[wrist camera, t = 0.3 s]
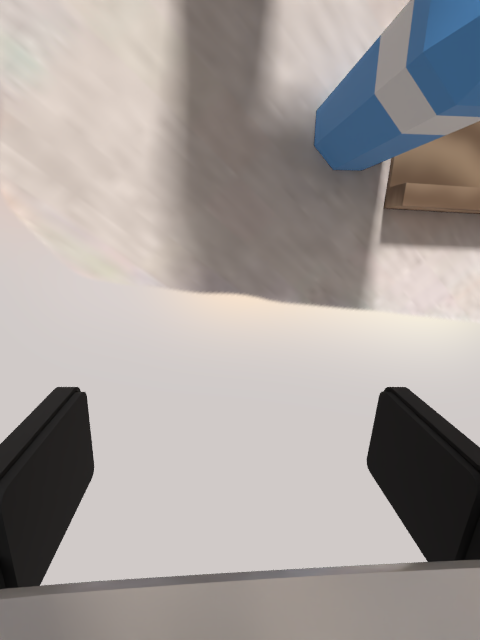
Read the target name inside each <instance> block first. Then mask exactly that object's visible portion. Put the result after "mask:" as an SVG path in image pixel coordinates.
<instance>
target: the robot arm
mask: <svg viewBox="0 0 480 640" xmlns="http://www.w3.org/2000/svg"><path fill="white" fill-rule="evenodd" d="M367 466H368V469H369V471H370V473H371V474H372V476H373V477H374V479H375V481H376V482H377V484H378V485H379V487H380V488H381V490H382V491H383V493H384V495H385V496H386V498H387V499H388V501H389V502H390V504H391V505H392V507H393V508H394V510H395V512H396V513H397V515H398V516H399V518H400V519H401V521H402V522H403V524H404V526H405V527H406V529H407V530H408V532H409V533H410V535H411V536H412V538H413V539H414V541H415V543H416V544H417V546H418V547H419V549H420V550H421V552H422V553H423V555H424V557H425V558H426V560H427V561H428V562H418V563H399V564H379V565H360V566H341V567H323V568H306V569H287V570H271V571H253V572H237V573H220V574H203V575H189V576H188V575H187V576H172V577H156V578H141V579H125V580H110V581H93V582H81V583H69V584H56V585H44V586H40V584H41V582H42V580H43V578H44V576H45V574H46V572H47V570H48V568H49V566H50V563H51V561H52V559H53V557H54V555H55V553H56V551H57V549H58V547H59V545H60V543H61V541H62V539H63V537H64V535H65V532H66V530H67V528H68V526H69V524H70V522H71V520H72V518H73V516H74V514H75V512H76V510H77V508H78V506H79V504H80V502H81V499H82V497H83V495H84V493H85V491H86V489H87V487H88V485H89V483H90V481H91V479H92V476H93V472H94V460H93V451H92V441H91V432H90V422H89V413H88V404H87V396H86V393H85V392H81V391H80V389H79V388H78V387H57V388H55V389H54V390H53V391H52V392H51V393H50V394H49V395H48V396H47V398H46V399H44V401H43V402H42V403H41V404H40V405H39V406H38V407H37V408H36V409H35V410H34V411H33V412H32V413H31V414H30V415H29V416H28V417H27V418H26V419H25V420H24V421H23V422H22V423H21V424H20V425H19V426H18V427H17V428H16V429H15V430H14V431H13V432H12V433H11V434H10V435H9V436H8V437H7V438H6V439H5V440H4V441H3V442H2V443H1V444H0V640H480V447H478V446H477V445H476V444H475V443H474V442H472V441H471V440H470V439H469V438H467V437H466V436H465V435H464V434H462V433H461V432H460V431H459V430H458V429H456V428H455V427H454V426H453V425H452V424H450V423H449V422H448V421H447V420H445V419H444V418H443V417H442V416H441V415H439V414H438V413H437V412H436V411H435V410H433V409H432V408H431V407H430V406H428V405H427V404H426V403H425V402H424V401H422V400H421V399H420V398H419V397H418V396H416V395H415V394H414V393H412V392H411V391H410V390H409V389H408V388H406V387H387V388H386V389H385V390H384V392H381V393H380V396H379V400H378V405H377V410H376V415H375V421H374V425H373V430H372V436H371V441H370V446H369V451H368V456H367Z"/></svg>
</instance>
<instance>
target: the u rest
mask: <svg viewBox="0 0 480 640" xmlns="http://www.w3.org/2000/svg"><path fill="white" fill-rule="evenodd" d="M384 208H387V209H404V210H422V211H439V212H456V213H474V214H480V121H478V122H476V123H474V124H471V125H469V126H466V127H464V128H462V129H459V130H457V131H454V132H452V133H450V134H447V135H445V136H443V137H440V138H438V139H435V140H433V141H431V142H428V143H426V144H424V145H421V146H419V147H416V148H414V149H412V150H409V151H407V152H404V153H402V154H400V155H397V156H395V157H393V158H392V159H391V166H390V172H389V178H388V184H387V190H386V196H385V203H384Z"/></svg>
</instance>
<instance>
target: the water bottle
mask: <svg viewBox="0 0 480 640" xmlns="http://www.w3.org/2000/svg"><path fill="white" fill-rule="evenodd" d="M478 121H480V0H410V1H409V3H408V4H407V5H406V6H405V7H404V8H403V10H402V11H401V12H400V13H399V14H398V15H397V17H396V18H395V19H394V20H393V21H392V23H391V24H390V25H389V26H388V27H387V28H386V30H385V31H384V32H383V33H382V34H381V35H380V37H379V38H378V39H377V40H376V41H375V43H374V44H373V45H372V46H371V47H370V48H369V50H368V51H367V52H366V53H365V54H364V56H363V57H362V58H361V59H360V60H359V61H358V63H357V64H356V65H355V66H354V67H353V68H352V70H351V71H350V72H349V73H348V74H347V76H346V77H345V78H344V79H343V80H342V81H341V83H340V84H339V85H338V86H337V87H336V88H335V90H334V91H333V92H332V93H331V94H330V96H329V97H328V98H327V99H326V100H325V101H324V103H323V104H322V105H321V106H320V107H319V109H318V110H317V111H316V126H315V141H314V146H315V147H316V149H317V150H318V151H319V152H320V154H321V155H322V156H323V158H324V159H325V160H326V161H327V163H328V164H329V165H330V166H331V168H332V169H333V170H364V169H366V168H369V167H371V166H374V165H376V164H378V163H381V162H383V161H385V160H388V159H390V158H393V157H395V156H397V155H400V154H402V153H404V152H407V151H409V150H412V149H414V148H416V147H419V146H421V145H424V144H426V143H428V142H431V141H433V140H435V139H438V138H440V137H443V136H445V135H447V134H450V133H452V132H454V131H457V130H459V129H462V128H464V127H466V126H469V125H471V124H474V123H476V122H478Z"/></svg>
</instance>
